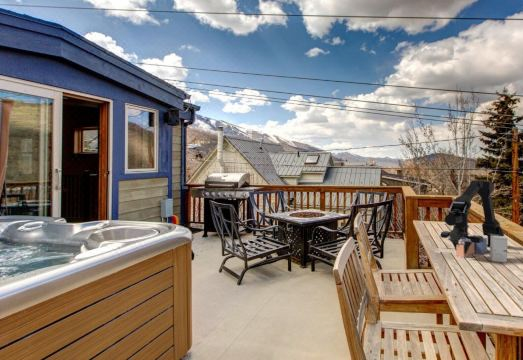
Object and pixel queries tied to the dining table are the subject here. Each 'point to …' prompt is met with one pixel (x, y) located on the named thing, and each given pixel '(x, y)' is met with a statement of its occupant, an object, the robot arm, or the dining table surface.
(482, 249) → the block
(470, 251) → the salmon pink prism
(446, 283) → the dining table surface
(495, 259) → the skincare box
